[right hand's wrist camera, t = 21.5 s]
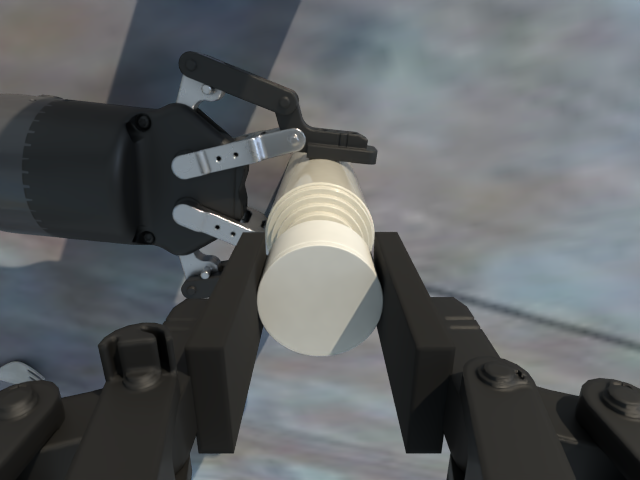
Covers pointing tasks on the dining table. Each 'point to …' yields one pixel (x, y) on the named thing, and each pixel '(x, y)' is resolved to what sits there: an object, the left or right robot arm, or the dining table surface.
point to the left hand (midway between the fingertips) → (366, 200)
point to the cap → (319, 289)
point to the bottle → (319, 198)
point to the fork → (18, 373)
